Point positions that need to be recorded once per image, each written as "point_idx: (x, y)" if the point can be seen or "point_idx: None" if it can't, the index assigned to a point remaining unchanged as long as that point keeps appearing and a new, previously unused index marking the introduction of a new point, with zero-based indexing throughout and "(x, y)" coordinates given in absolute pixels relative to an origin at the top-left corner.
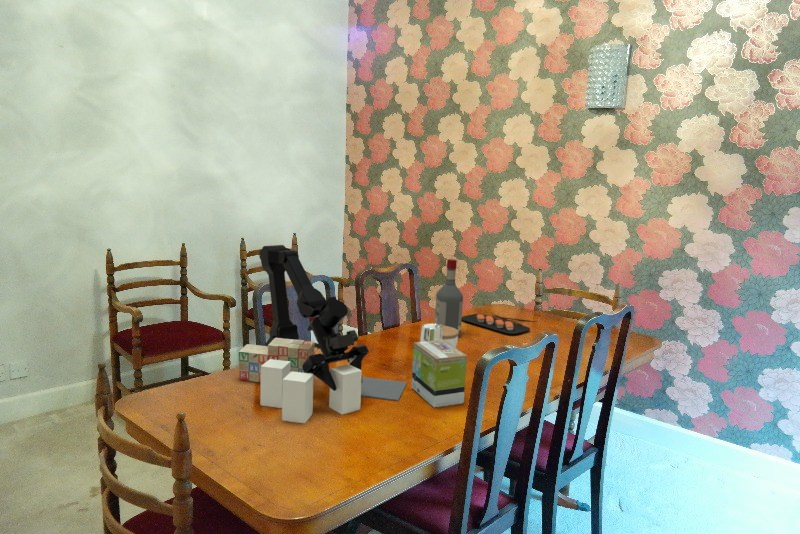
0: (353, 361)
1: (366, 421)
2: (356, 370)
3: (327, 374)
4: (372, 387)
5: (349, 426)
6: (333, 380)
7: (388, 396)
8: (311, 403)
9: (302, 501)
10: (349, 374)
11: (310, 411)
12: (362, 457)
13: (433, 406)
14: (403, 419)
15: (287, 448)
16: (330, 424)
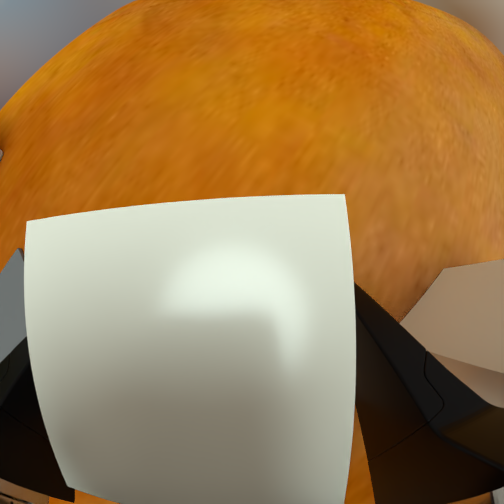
0: (12, 469)
1: (223, 149)
2: (65, 255)
3: (449, 377)
4: None
5: (311, 149)
6: (373, 331)
7: (23, 296)
8: (427, 331)
9: (472, 36)
10: (221, 206)
11: (416, 319)
12: (358, 25)
13: (1, 151)
14: (105, 111)
15: (500, 160)
16: (370, 206)
